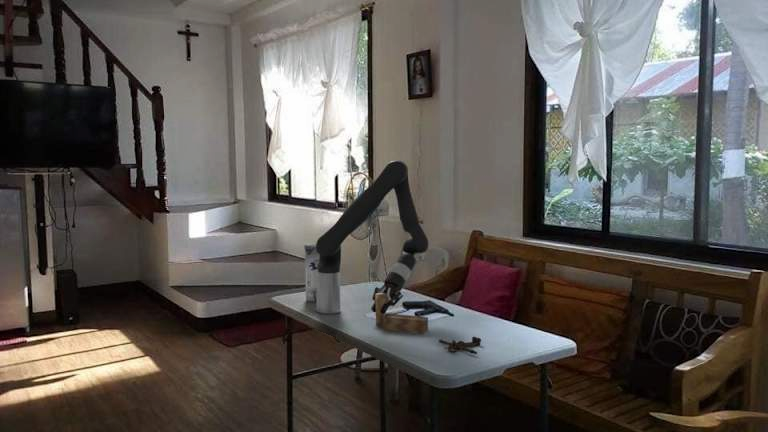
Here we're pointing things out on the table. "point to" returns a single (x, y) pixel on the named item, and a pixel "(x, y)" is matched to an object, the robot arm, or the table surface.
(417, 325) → the walnut rail
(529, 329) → the table surface
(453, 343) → the brown toy figure
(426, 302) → the gun
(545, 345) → the table surface
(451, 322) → the table surface
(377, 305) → the oak post
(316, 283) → the juice carton
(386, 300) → the robot arm
